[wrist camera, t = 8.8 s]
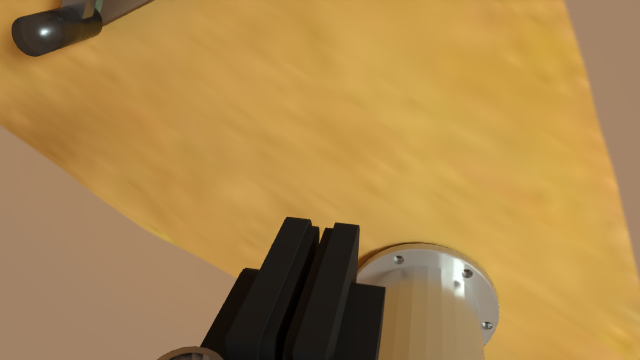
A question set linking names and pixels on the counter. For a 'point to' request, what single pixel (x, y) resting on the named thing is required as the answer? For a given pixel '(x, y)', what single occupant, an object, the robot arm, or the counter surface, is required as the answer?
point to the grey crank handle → (57, 27)
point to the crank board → (117, 8)
